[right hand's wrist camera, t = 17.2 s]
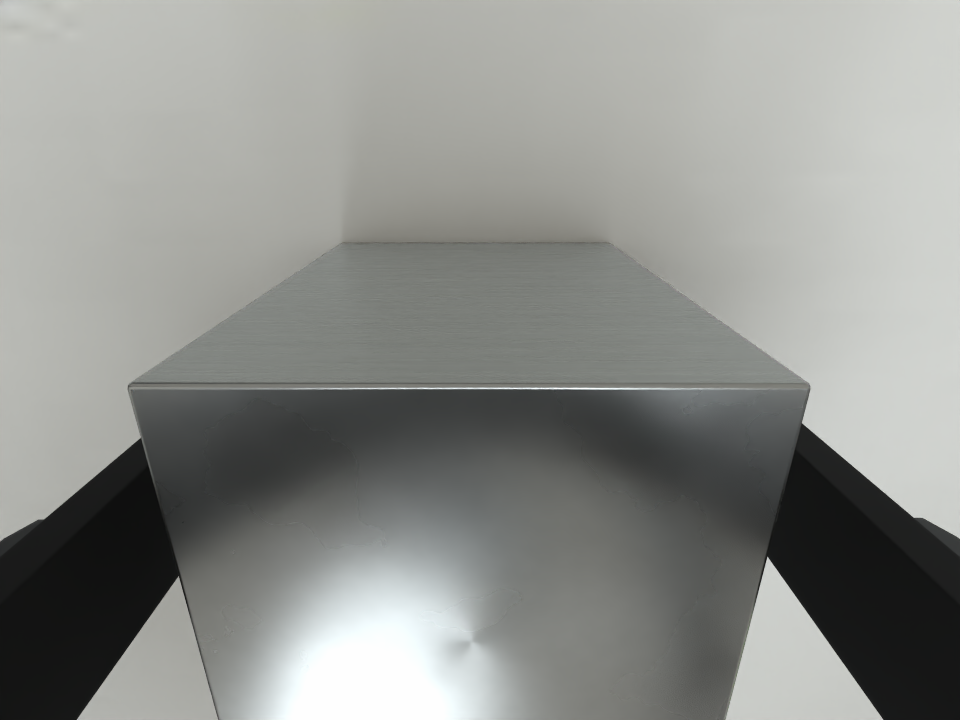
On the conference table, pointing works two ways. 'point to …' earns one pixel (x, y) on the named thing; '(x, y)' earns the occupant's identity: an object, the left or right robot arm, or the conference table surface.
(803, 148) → the conference table surface
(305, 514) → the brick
